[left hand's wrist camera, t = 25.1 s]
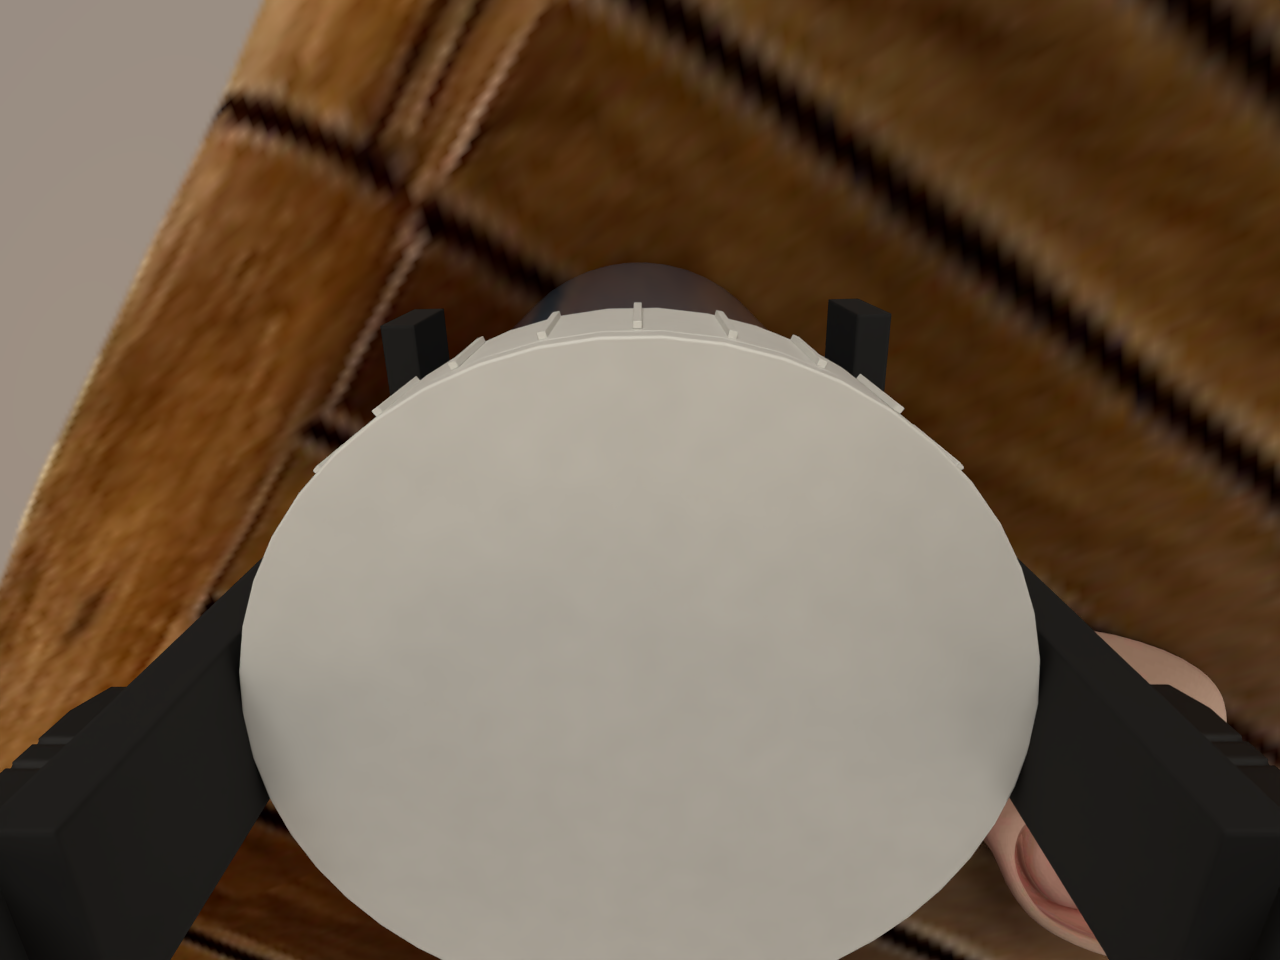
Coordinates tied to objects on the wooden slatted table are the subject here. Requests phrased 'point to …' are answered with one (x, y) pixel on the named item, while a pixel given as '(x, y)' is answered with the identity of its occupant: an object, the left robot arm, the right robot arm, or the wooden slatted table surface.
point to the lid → (639, 651)
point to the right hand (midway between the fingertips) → (635, 311)
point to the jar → (639, 293)
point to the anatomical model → (1017, 845)
